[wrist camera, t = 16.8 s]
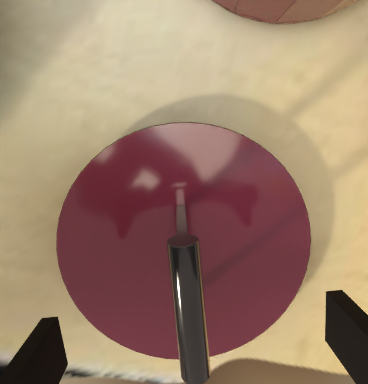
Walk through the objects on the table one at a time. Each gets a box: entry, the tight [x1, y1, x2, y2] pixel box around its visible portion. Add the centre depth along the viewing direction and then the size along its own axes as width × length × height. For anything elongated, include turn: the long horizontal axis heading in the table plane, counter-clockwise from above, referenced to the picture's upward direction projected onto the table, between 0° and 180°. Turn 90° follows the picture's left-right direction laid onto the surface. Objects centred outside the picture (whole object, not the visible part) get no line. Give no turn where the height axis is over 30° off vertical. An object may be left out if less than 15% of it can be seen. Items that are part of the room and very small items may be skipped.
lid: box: [57, 122, 311, 384], centre depth 18 cm, size 20×20×9 cm
